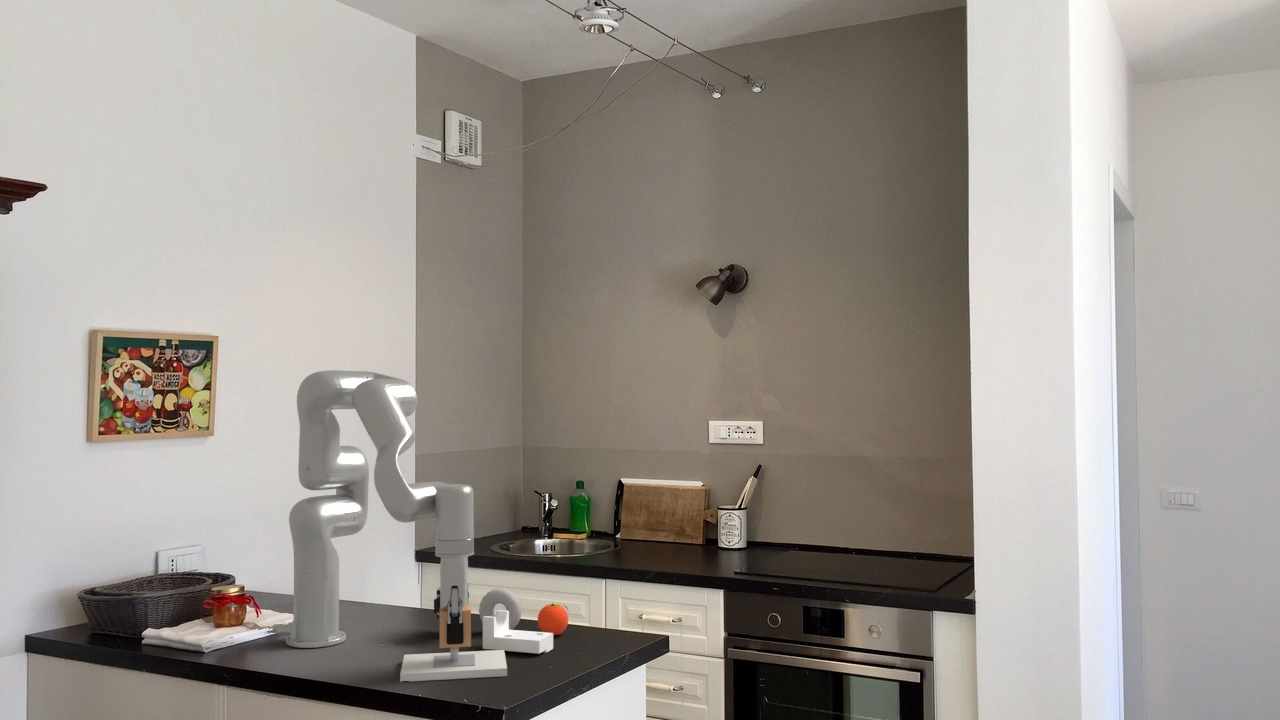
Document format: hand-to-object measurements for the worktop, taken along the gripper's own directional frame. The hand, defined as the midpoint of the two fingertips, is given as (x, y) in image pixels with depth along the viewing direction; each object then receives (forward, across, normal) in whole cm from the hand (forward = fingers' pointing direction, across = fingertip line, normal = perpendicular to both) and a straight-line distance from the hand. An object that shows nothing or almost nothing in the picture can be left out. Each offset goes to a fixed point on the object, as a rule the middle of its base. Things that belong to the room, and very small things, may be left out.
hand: (455, 639), depth 197 cm
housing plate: (+6, 0, 0) cm, 6 cm away
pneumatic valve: (+6, -28, -1) cm, 29 cm away
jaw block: (+1, 0, 0) cm, 1 cm away
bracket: (+6, -12, +13) cm, 19 cm away
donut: (+6, -28, +10) cm, 30 cm away
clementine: (+6, -24, +22) cm, 33 cm away
